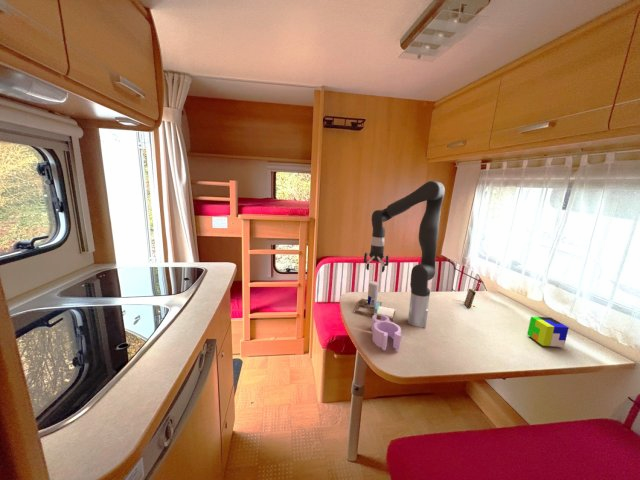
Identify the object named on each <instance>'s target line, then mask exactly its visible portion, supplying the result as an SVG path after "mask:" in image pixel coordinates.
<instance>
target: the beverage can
mask: <svg viewBox="0 0 640 480" xmlns="http://www.w3.org/2000/svg"><path fill="white" fill-rule="evenodd" d="M378 294H379V282H377V281H372V280H371V281H369V284H368V292H367V300H368V302H366V304H367V306H372V307H375V306H376V304H377V301H378Z"/></svg>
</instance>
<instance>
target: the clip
mask: <svg viewBox="0 0 640 480" xmlns="http://www.w3.org/2000/svg"><path fill="white" fill-rule="evenodd" d="M371 317H372V316H371ZM371 319H372V320H371V331H372V342H373V343H374V344H375V345H376V346H378V347H381V350H382V351H386V349H387V345H388V337H389V338H392V339H393V344H392V348H393V349H396V350H397V351H400V350H401V349H400V348H401V343H402V342H401V341H402V328H401V327H400V325H398V324H397V323H395V322H394V321H390V319H389V317H387V316H385V315H381V318H380V319H378V318H377V315H373V317H372V318H371Z"/></svg>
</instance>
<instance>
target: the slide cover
mask: <svg viewBox="0 0 640 480" xmlns="http://www.w3.org/2000/svg"><path fill="white" fill-rule="evenodd" d="M380 302H381V301H378V302H377V304H376V306H375V310H374V314H375V315H380V316H381V315H385V316H387V317H389V318H393V314H394V311H396V310H395V308H390V307H386V306H382V305H381V306H380Z"/></svg>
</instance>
